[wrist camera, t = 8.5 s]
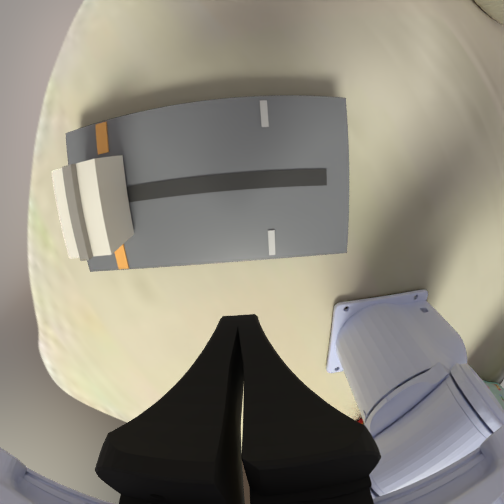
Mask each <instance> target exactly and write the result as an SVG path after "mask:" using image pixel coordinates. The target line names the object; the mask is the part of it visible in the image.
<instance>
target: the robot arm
mask: <svg viewBox="0 0 504 504" xmlns="http://www.w3.org/2000/svg"><path fill="white" fill-rule="evenodd" d="M415 295H416V296H415ZM414 296H415V297H414ZM427 297H428V292H427V291H426V290H425V289H422V290H417V291H411V292H405V293H400V294H394V295H387V296H381V297H375V298H368V299H361V300H354V301H346V302H340V303H337V304H336V305H335V306H334V311H333V320H332V329H331V337H330V345H329V352H328V359H327V366H326V370H327V372H328V373H334V372H340V371H344V373H345V376H346V378H347V381H348V383H349V385H350V388H351V391H352V393H353V396H354V398H355V401H356V403H357V406H358V408H359V411H360V414H361V416H362V419H363V421H364V425H363V424H361V423H359V422H357V421H355V420H353V419H352V418H350V417H348V416H346V415H345V414H343V413H341V412H340V411H338V410H337V409H335V408H334V407H332V406H331V405H330V404H328V403H327V402H325V401H324V400H323V399H322V398H320V397H319V396H318V395H317V394H315V393H314V392H313V391H312V390H310V389H309V388H308V387H307V386H306V385H305V384H304V383H303V382H302V381H301V380H300V379H299V378H298V377H297V376H296V375H295V374H294V373H293V372H292V371H291V370H290V369H289V368H288V366H287V365H286V364H285V363H284V362H283V360H282V359H281V358H280V356H279V355H278V354H277V352H276V351H275V350H274V348H273V346H272V345H271V343H270V342H269V340H268V339H267V337H266V335H265V333H264V331H263V330H262V327H261V325H260V323H259V320H258V316H256V315H255V314H251V315H237V316H223V317H222V318H221V319H220V321H219V323H218V325H217V327H216V329H215V331H214V333H213V335H212V337H211V338H210V340H209V342H208V343H207V345H206V346H205V348H204V350H203V351H202V353H201V354H200V355H199V357H198V358H197V359H196V361H195V362H194V364H193V365H192V366H191V368H190V369H189V370H188V371H187V372H186V374H185V375H184V376H183V377H182V378H181V379H180V380H179V381H178V382H177V384H176V385H175V386H174V387H173V388H171V389H170V390H169V391H168V392H167V393H166V394H165V395H164V396H163V397H162V398H161V399H160V400H158V401H157V402H156V403H155V404H154V405H152V406H151V407H150V408H148V409H147V410H146V411H144V412H143V413H142V414H140V415H139V416H137V417H136V418H134V419H133V420H131V421H129V422H128V423H126V424H124V425H122V426H121V427H119V428H117V429H115V430H114V431H112V432H110V433H108V435H107V437H106V439H105V442H104V443H103V446H102V449H101V452H100V455H99V458H98V461H97V464H96V468H95V471H96V473H97V475H98V477H99V478H100V479H101V480H103V481H104V482H105V483H106V484H108V485H109V486H110V487H112V488H113V489H114V490H116V491H117V492H119V493H120V494H121V496H120V501H119V504H245V503H244V489H243V472H242V462H243V465H244V469H245V472H246V476H247V480H248V483H249V486H250V504H504V409H503V408H502V406H501V405H500V403H499V402H498V400H497V399H496V398H495V396H494V395H493V393H492V392H491V391H490V389H489V388H488V387H487V385H486V384H485V383H484V382H483V380H482V379H481V378H480V377H479V376H478V374H477V373H476V372H475V371H474V370H473V369H472V368H471V367H470V366H469V365H468V364H467V353H466V348H465V345H464V343H463V340H462V338H461V337H460V335H459V334H458V333H457V332H456V331H455V330H454V328H453V327H452V326H451V325H450V324H449V323H448V322H447V321H446V320H445V319H444V318H443V317H442V316H441V315H440V314H439V313H438V312H437V311H436V310H435V309H434V308H433V307H432V306H431V305H430V304H429V303H428V302H427ZM346 306H348V307H347V308H346V309H344V308H345V307H346ZM336 367H337V368H336ZM243 385H244V410H243V439H242V453H241V412H242V399H243ZM0 504H114V503H111V502H107V501H104V500H101V499H98V498H95V497H92V496H89V495H86V494H84V493H81V492H78V491H76V490H73V489H71V488H68V487H66V486H64V485H61V484H59V483H57V482H55V481H53V480H50V479H48V478H46V477H44V476H42V475H40V474H38V473H36V472H34V471H33V470H31V469H29V468H27V467H26V466H25V465H24V464H23V463H22V462H21V461H20V460H18V459H17V458H16V457H14V456H13V455H11V454H10V453H8V452H7V451H5V450H4V449H2V448H1V447H0Z"/></svg>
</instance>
